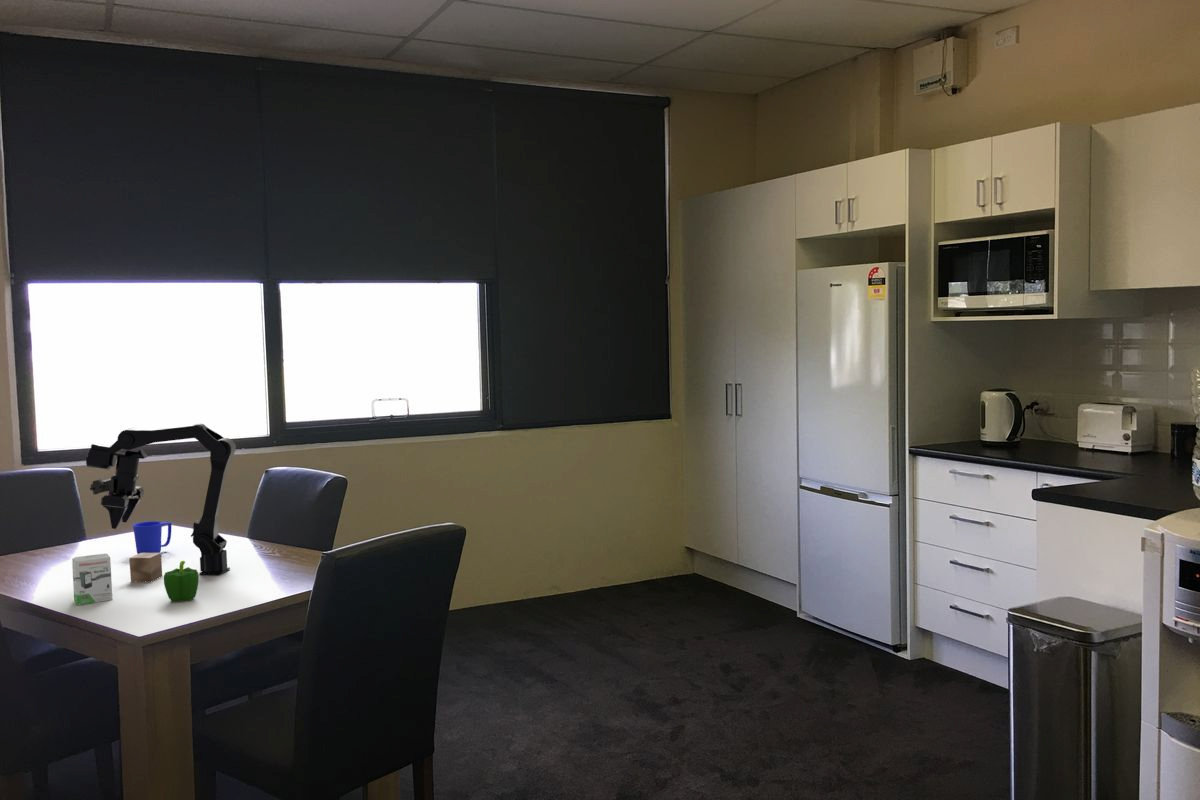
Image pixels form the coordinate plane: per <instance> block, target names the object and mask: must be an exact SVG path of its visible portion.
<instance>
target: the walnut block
mask: <svg viewBox="0 0 1200 800" xmlns="http://www.w3.org/2000/svg"><path fill="white" fill-rule="evenodd" d="M162 563H163V561H162V552H160V553H140V554H135V555H133V556H131V557H129V573H130V583H135V582H134V581H137V582H136V583H152V582H154V581H156V580H158V579H160V578H162V577H163V567H162V566H163V564H162ZM161 576H162V577H161ZM159 577H160V578H159ZM157 578H158V579H157ZM155 579H156V580H155ZM153 580H154V581H153ZM145 581H146V582H145ZM151 581H152V582H151Z"/></svg>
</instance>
